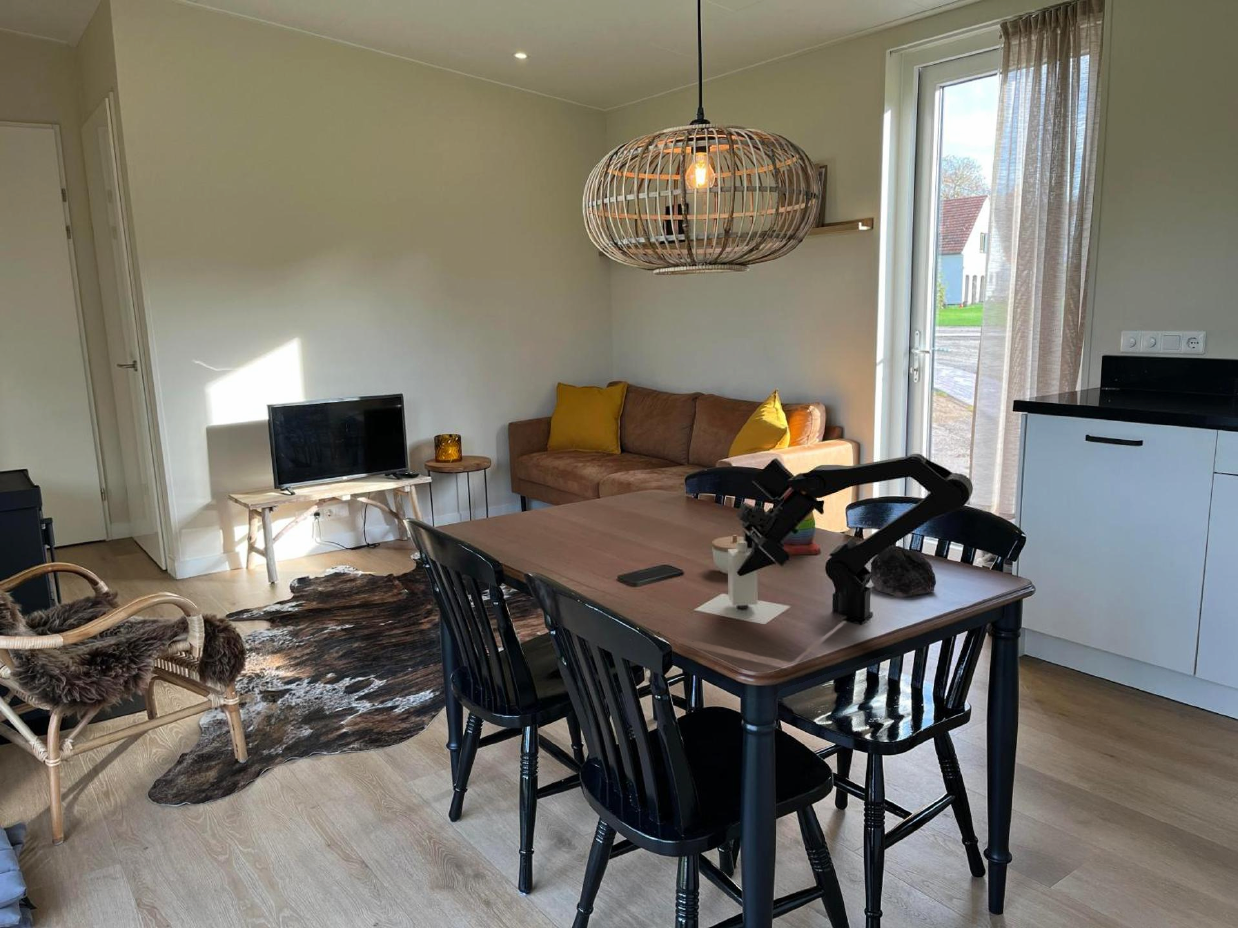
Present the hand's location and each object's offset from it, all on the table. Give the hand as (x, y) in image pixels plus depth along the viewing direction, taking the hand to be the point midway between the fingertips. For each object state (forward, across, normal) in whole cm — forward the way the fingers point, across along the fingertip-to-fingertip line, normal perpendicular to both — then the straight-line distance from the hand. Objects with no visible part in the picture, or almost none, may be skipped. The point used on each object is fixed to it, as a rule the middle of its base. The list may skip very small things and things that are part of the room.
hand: (735, 570), depth 176 cm
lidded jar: (+3, -27, +10) cm, 29 cm away
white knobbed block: (+4, 0, +6) cm, 7 cm away
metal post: (+5, 0, +7) cm, 8 cm away
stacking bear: (-11, -44, +24) cm, 52 cm away
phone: (+17, -28, -4) cm, 33 cm away
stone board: (+6, 0, +7) cm, 9 cm away
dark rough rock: (-21, -10, +35) cm, 42 cm away
